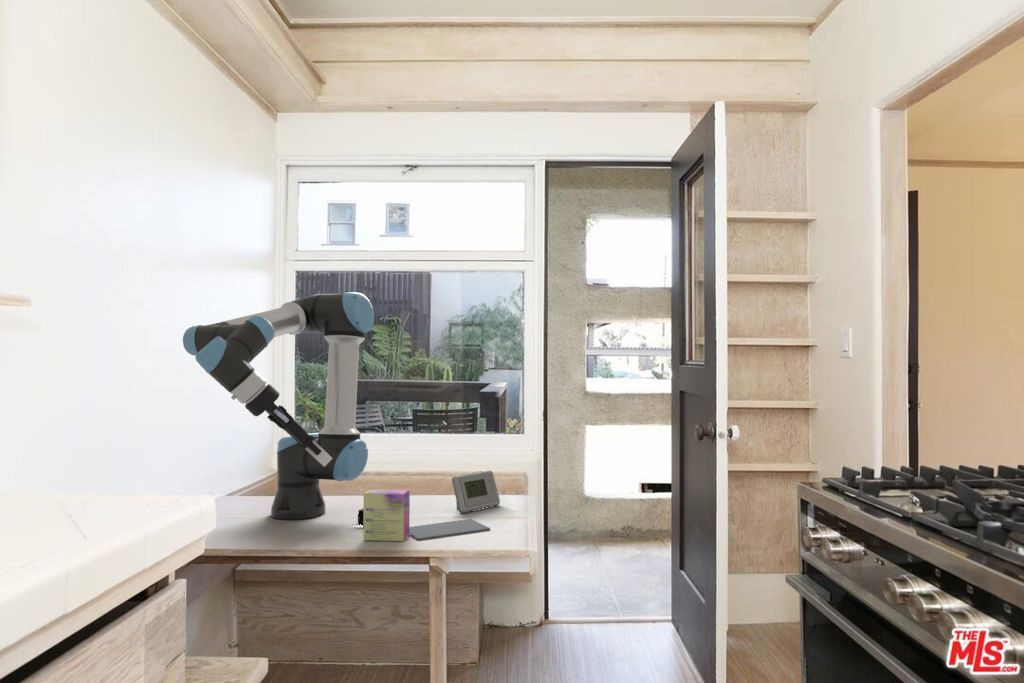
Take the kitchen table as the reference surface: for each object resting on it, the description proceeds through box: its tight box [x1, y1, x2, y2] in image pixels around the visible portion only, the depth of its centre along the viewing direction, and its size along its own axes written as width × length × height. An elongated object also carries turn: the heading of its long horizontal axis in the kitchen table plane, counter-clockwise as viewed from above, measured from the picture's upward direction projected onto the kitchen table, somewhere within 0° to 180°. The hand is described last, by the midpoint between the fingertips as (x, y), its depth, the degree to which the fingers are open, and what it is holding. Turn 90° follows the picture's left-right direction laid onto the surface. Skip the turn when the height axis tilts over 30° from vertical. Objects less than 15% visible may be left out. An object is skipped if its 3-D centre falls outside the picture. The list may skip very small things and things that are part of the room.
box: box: [362, 488, 411, 542], centre depth 167 cm, size 10×6×12 cm, turn 84°
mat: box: [409, 518, 491, 541], centre depth 174 cm, size 12×20×1 cm, turn 119°
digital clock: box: [451, 469, 501, 514], centre depth 200 cm, size 16×9×11 cm, turn 124°
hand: (327, 462), depth 161 cm, fingers closed
